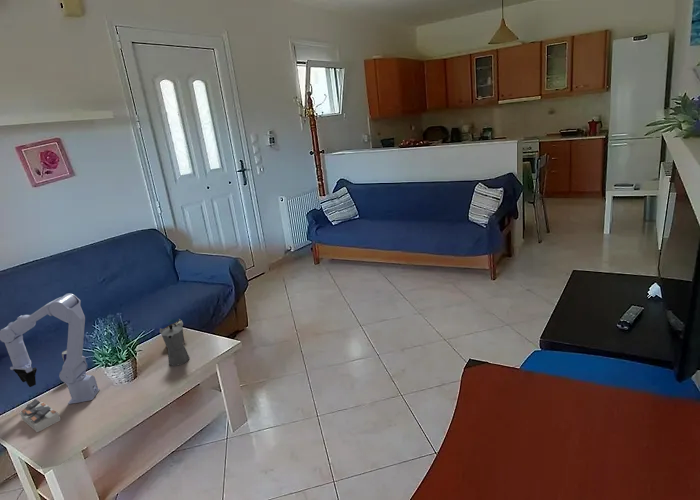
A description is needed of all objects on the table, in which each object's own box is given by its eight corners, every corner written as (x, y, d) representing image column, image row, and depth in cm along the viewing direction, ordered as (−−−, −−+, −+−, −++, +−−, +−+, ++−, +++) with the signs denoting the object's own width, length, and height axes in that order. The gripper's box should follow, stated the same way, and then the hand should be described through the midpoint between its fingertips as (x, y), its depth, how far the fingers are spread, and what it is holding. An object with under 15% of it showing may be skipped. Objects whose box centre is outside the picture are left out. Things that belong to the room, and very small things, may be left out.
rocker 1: (37, 400, 178) (34, 398, 177) (41, 403, 176) (38, 400, 175) (23, 413, 175) (20, 411, 174) (26, 416, 172) (23, 413, 172)
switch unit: (44, 407, 181) (42, 401, 180) (60, 419, 172) (58, 412, 171) (22, 419, 175) (19, 412, 174) (37, 432, 166) (34, 425, 165)
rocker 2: (42, 408, 175) (42, 404, 175) (46, 411, 173) (46, 407, 173) (24, 414, 171) (24, 410, 170) (28, 417, 168) (27, 413, 168)
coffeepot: (188, 365, 201) (179, 328, 196) (166, 370, 199) (156, 333, 194) (191, 349, 215) (183, 315, 210) (171, 354, 214) (162, 319, 209)
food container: (171, 349, 218) (166, 330, 216) (163, 347, 222) (158, 329, 219) (192, 338, 228) (187, 320, 225) (184, 336, 231) (179, 318, 229)
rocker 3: (47, 408, 172) (45, 405, 171) (51, 411, 170) (48, 408, 169) (32, 420, 168) (29, 418, 168) (35, 423, 166) (33, 421, 165)
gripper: (0, 354, 181) (11, 383, 184) (12, 362, 172) (24, 393, 176) (20, 346, 186) (31, 375, 190) (33, 353, 177) (44, 384, 181)
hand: (29, 383), depth 183 cm, fingers open, 7 cm apart
